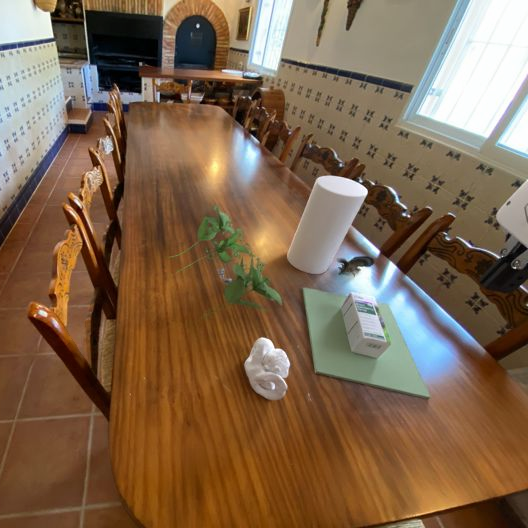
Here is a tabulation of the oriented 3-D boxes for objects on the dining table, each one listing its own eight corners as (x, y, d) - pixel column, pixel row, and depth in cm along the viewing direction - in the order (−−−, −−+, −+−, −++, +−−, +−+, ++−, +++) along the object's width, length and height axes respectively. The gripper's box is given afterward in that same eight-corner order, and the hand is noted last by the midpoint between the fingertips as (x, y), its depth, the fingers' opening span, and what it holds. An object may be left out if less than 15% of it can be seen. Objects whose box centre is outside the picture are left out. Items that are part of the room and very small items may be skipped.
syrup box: (363, 337, 62) (350, 290, 73) (350, 353, 66) (340, 306, 77) (392, 344, 61) (375, 295, 72) (377, 360, 65) (363, 311, 76)
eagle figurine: (357, 284, 83) (378, 270, 86) (352, 261, 81) (373, 248, 84) (333, 280, 90) (353, 267, 93) (328, 258, 89) (349, 246, 91)
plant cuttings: (216, 367, 69) (304, 321, 64) (177, 337, 58) (279, 279, 53) (183, 269, 95) (243, 231, 90) (152, 236, 84) (218, 191, 79)
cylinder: (291, 244, 98) (320, 171, 82) (331, 257, 94) (369, 183, 78) (282, 263, 90) (312, 187, 74) (325, 279, 86) (366, 201, 70)
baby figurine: (252, 342, 67) (284, 328, 62) (275, 397, 62) (311, 387, 57) (229, 346, 61) (262, 331, 56) (252, 407, 56) (291, 397, 51)
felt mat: (386, 305, 79) (388, 303, 78) (428, 399, 59) (430, 397, 59) (302, 289, 82) (303, 287, 81) (315, 373, 62) (316, 371, 61)
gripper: (540, 117, 33) (436, 249, 45) (687, 166, 22) (496, 325, 33) (618, 126, 32) (491, 258, 44) (815, 182, 21) (572, 340, 32)
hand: (493, 287), depth 38 cm, fingers closed
